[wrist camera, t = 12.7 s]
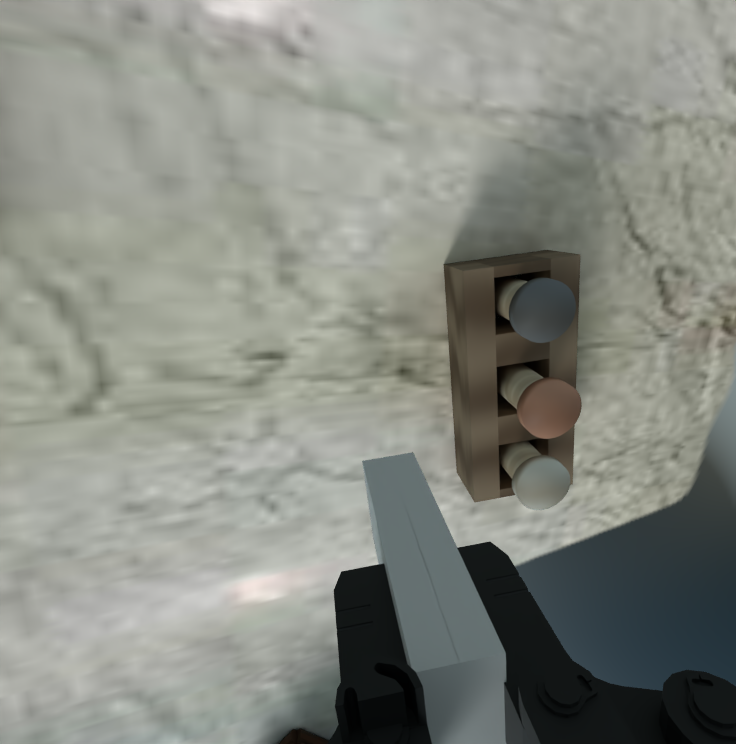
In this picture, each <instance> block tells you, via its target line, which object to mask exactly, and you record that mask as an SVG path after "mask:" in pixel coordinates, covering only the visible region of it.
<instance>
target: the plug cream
mask: <svg viewBox="0 0 736 744" xmlns="http://www.w3.org/2000/svg"><path fill="white" fill-rule="evenodd" d="M499 463H500V464H501V466H502V467H503V468H504V469H505V471H506V472H507V473H508V474H509V476H510V477H511V478H512V489H513V492H514V494H515V495H516V496H517V498H518V499H519V500H520V502H521V503H522V504H523V505H524V506H526V507H527V508H530V509H533V510H544V509H548V508H550V507H552V506H554V505H556V504H557V503H559V502H560V501H561V500H562V499H563V498H564V497H565V495H566V494H567V492H568V490H569V487H570V475H569V472H568V470H567V469H566V468H565V467H564V466H563V465H562V464H561V463H560V462H559V461H558V460H557V459H555V458H554V457H551V456H548V455H541V454H540V453H539V452H538V451H537V450H536V449H535V448H534V447H533V446H532V445H531V444H530V443H529V442H528V441H527V440H526V441H520V442H514V443H509V444H503V445H499Z"/></svg>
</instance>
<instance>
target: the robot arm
mask: <svg viewBox="0 0 736 744" xmlns="http://www.w3.org/2000/svg"><path fill="white" fill-rule="evenodd" d="M362 462H363V469H364V476H365V483H366V490H367V498H368V505H369V512H370V519H371V526H372V533H373V540H374V544H375V549H376V554H377V558H378V563H379V565H373V566H368V567H363V568H358V569H353V570H348V571H342V572H341V574H340V576H339V579H338V581H337V584H336V586H335V589H334V600H335V612H336V625H337V638H338V651H339V663H340V676H341V683H340V685H339V687H338V689H337V696H336V703H335V708H336V713H337V718H338V723H339V725H338V727H337V729H336V731H335V733H334V735H333V736H332V738H331V739H330V741H329V742H328V743H327V744H736V686H734V685H733V684H731V683H730V682H728V681H726V680H725V679H722V678H720V677H717V676H714V675H712V674H709V673H707V672H701V671H692V670H685V671H681V672H677V673H674V674H672V675H671V676H670V677H669V678H668V679H667V680H666V681H665V683H664V685H663V691H659V690H650V689H642V688H632V687H624V686H619V685H614V684H610V683H607V682H605V681H602V680H600V679H597V678H595V677H594V676H593V675H592V674H591V673H590V672H589V671H588V670H586V669H585V668H583V667H582V666H580V665H579V664H577V663H576V662H574V661H572V659H571V658H570V656H569V655H568V654H567V653H566V651H565V650H564V648H563V646H562V645H561V643H560V641H559V640H558V638H557V636H556V635H555V633H554V631H553V630H552V628H551V626H550V625H549V623H548V621H547V620H546V618H545V617H544V615H543V613H542V612H541V610H540V608H539V606H538V605H537V603H536V601H535V600H534V598H533V596H532V595H531V593H530V592H528V588H527V586H526V585H525V583H524V581H523V580H522V578H521V577H519V573H518V571H517V570H516V568H515V566H514V565H513V563H512V561H511V560H510V558H509V556H508V555H507V554H505V553H504V552H503V551H502V550H500V549H499V548H498V547H496V546H495V545H494V544H493V543H491V542H485V543H480V544H475V545H470V546H465V547H459V548H457V546H456V544H455V542H454V540H453V538H452V536H451V533H450V531H449V529H448V527H447V525H446V523H445V520H444V518H443V516H442V514H441V512H440V510H439V507H438V505H437V503H436V501H435V499H434V497H433V494H432V492H431V490H430V488H429V486H428V484H427V481H426V479H425V477H424V475H423V473H422V471H421V468H420V466H419V464H418V462H417V460H416V458H415V455H414V453H413V452H412V453H407V454H401V455H395V456H389V457H383V458H378V459H372V460H366V461H362Z"/></svg>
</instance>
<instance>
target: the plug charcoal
mask: <svg viewBox="0 0 736 744" xmlns="http://www.w3.org/2000/svg"><path fill="white" fill-rule="evenodd" d="M494 293H495V313H496V314H498V315H500V316H502V317H504V318H506V319H508V320H510V323H511V326H512V327H513V329H514V330H515V331H516V332H517V333H518V334H519V335H520V336H522V337H524V338H526V339H528V340H530V341H532V342H536V343H545V342H550V341H552V340H555V339H557V338H558V337H560V336H561V335H562V334H563V333H564V332H565V331H566V330H567V329H568V328H569V326H570V325H571V323H572V321H573V318H574V316H575V310H576V302H575V298H574V295H573V293H572V291H571V290H570V288H569V287H568V286H567V285H565V284H564V283H562V282H560V281H557V280H554V279H549V278H536V279H533V280H530V281H524V280H521V279H517V278H514V277H511V276H503V277H496V278H494Z"/></svg>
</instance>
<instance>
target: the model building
mask: <svg viewBox="0 0 736 744" xmlns="http://www.w3.org/2000/svg"><path fill="white" fill-rule="evenodd" d="M328 742H329V741H328V740H325V739H323V738H321V737H318V736H316V735H314V734H312V733H309V732H307V731H305V730H302V729H300V728H299V729H298V730H297V731H296V730H292V731H291V732H290V733H289V734H288V735H287V736H286V737H285V738H284V739H283V740H282V741H281V742H280V743H279V744H327V743H328Z"/></svg>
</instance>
